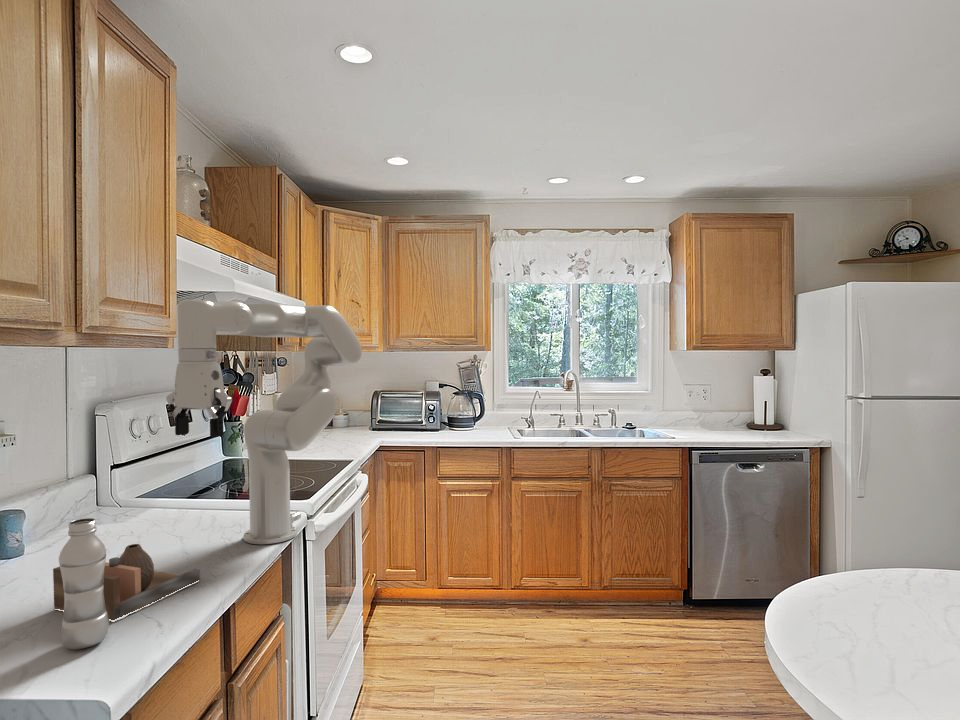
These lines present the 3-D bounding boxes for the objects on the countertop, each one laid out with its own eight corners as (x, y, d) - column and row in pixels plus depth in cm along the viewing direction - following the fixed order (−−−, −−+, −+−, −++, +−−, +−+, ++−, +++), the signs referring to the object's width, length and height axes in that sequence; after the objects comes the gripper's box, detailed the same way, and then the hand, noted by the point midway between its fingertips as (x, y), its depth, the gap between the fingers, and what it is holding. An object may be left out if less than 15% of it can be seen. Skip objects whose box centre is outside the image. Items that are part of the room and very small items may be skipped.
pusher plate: (96, 592, 115) (95, 553, 115) (142, 601, 111) (141, 561, 111) (88, 595, 114) (87, 556, 114) (134, 604, 110) (133, 564, 110)
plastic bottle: (118, 633, 100) (115, 514, 100) (93, 654, 94) (90, 527, 93) (78, 634, 100) (75, 515, 100) (50, 655, 93) (47, 528, 93)
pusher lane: (144, 572, 127) (144, 536, 127) (200, 581, 122) (199, 544, 122) (54, 610, 109) (53, 568, 109) (114, 622, 104) (113, 579, 104)
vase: (108, 600, 112) (106, 553, 112) (119, 585, 119) (118, 541, 119) (149, 595, 114) (148, 550, 114) (158, 581, 121) (157, 538, 120)
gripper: (241, 356, 131) (243, 434, 132) (181, 356, 137) (182, 431, 138) (215, 357, 124) (217, 440, 125) (153, 357, 130) (154, 436, 131)
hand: (199, 435), depth 131 cm, fingers open, 9 cm apart
